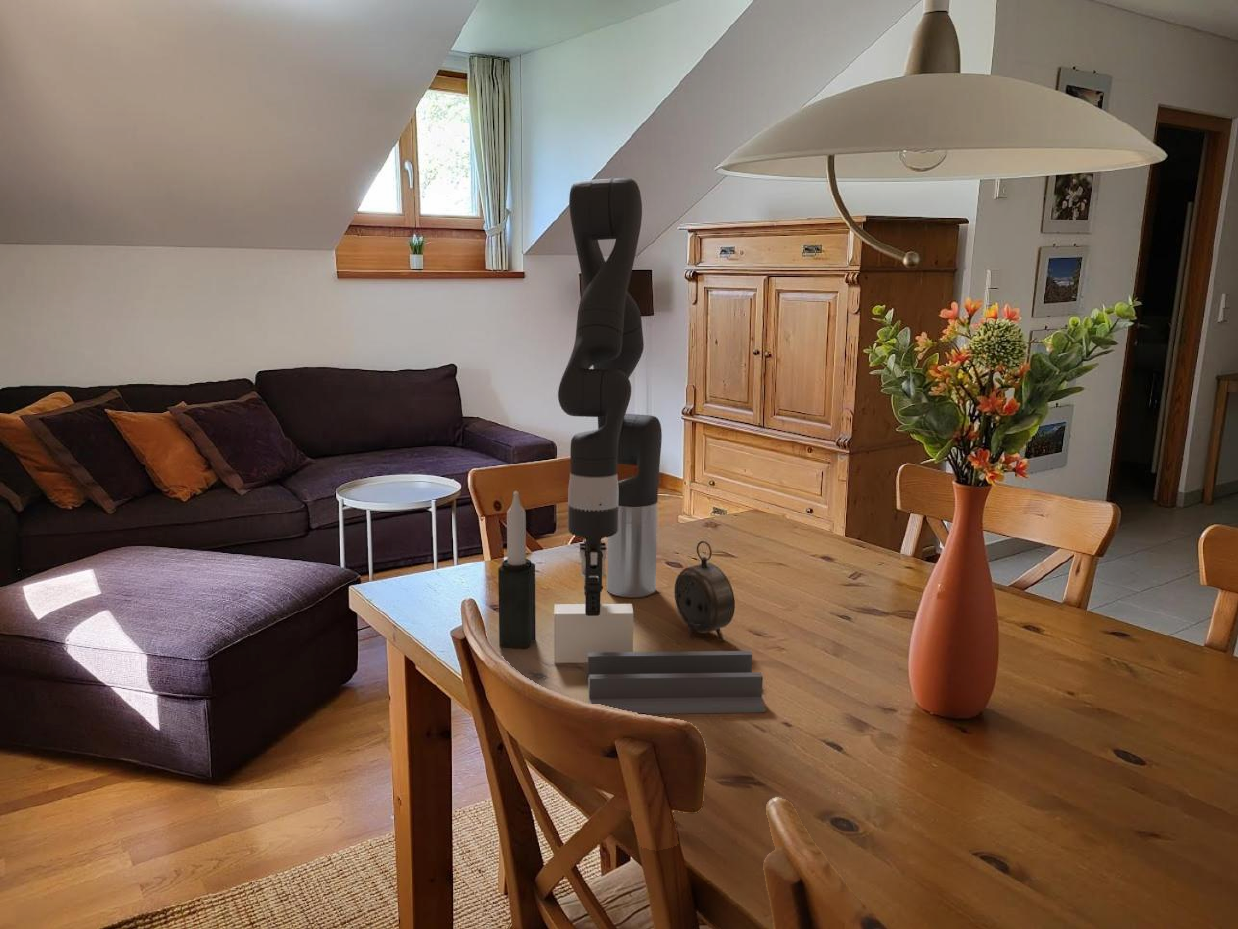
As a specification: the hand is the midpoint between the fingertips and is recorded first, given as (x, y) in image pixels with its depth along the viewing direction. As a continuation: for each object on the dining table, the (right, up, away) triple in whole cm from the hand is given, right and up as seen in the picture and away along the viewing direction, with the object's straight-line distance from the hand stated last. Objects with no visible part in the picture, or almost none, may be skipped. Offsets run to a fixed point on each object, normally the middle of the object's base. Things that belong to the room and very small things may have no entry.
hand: (592, 605), depth 141 cm
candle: (-12, -7, +7) cm, 16 cm away
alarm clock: (+18, -7, +11) cm, 22 cm away
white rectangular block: (0, -8, +2) cm, 9 cm away
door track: (+12, -11, -9) cm, 18 cm away
